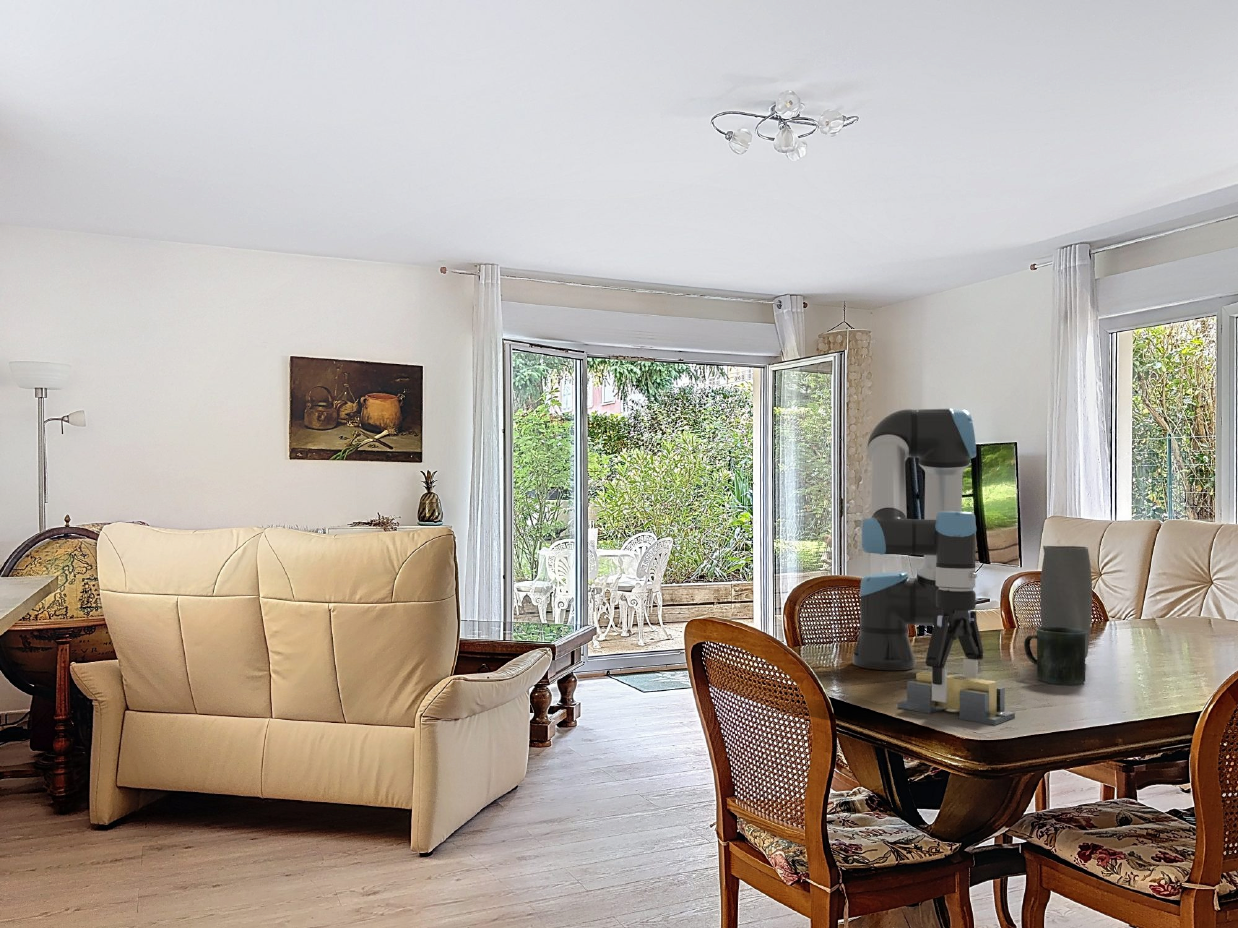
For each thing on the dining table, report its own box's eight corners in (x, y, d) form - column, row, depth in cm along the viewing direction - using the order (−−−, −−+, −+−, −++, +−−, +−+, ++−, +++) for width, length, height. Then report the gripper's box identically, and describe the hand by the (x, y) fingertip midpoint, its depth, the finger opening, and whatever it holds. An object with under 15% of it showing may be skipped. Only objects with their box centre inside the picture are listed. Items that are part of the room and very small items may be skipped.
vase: (1089, 668, 245) (1089, 548, 246) (1036, 663, 251) (1036, 546, 252) (1095, 661, 255) (1095, 546, 256) (1044, 657, 262) (1044, 544, 263)
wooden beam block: (916, 702, 198) (916, 672, 198) (924, 700, 200) (924, 670, 200) (988, 715, 187) (988, 683, 187) (996, 712, 190) (996, 681, 190)
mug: (1071, 687, 220) (1071, 634, 220) (1012, 677, 232) (1012, 626, 232) (1096, 682, 226) (1096, 630, 227) (1037, 673, 238) (1037, 623, 239)
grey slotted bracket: (897, 707, 198) (898, 680, 198) (919, 701, 204) (919, 674, 204) (930, 713, 193) (930, 685, 193) (951, 706, 199) (951, 679, 199)
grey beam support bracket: (959, 718, 188) (959, 690, 189) (979, 711, 195) (979, 683, 195) (995, 725, 184) (995, 695, 184) (1014, 717, 190) (1014, 689, 190)
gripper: (944, 594, 183) (944, 708, 182) (1000, 586, 201) (1000, 690, 200) (907, 591, 188) (907, 702, 188) (965, 583, 206) (965, 684, 205)
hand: (955, 696), depth 194 cm, fingers open, 13 cm apart
